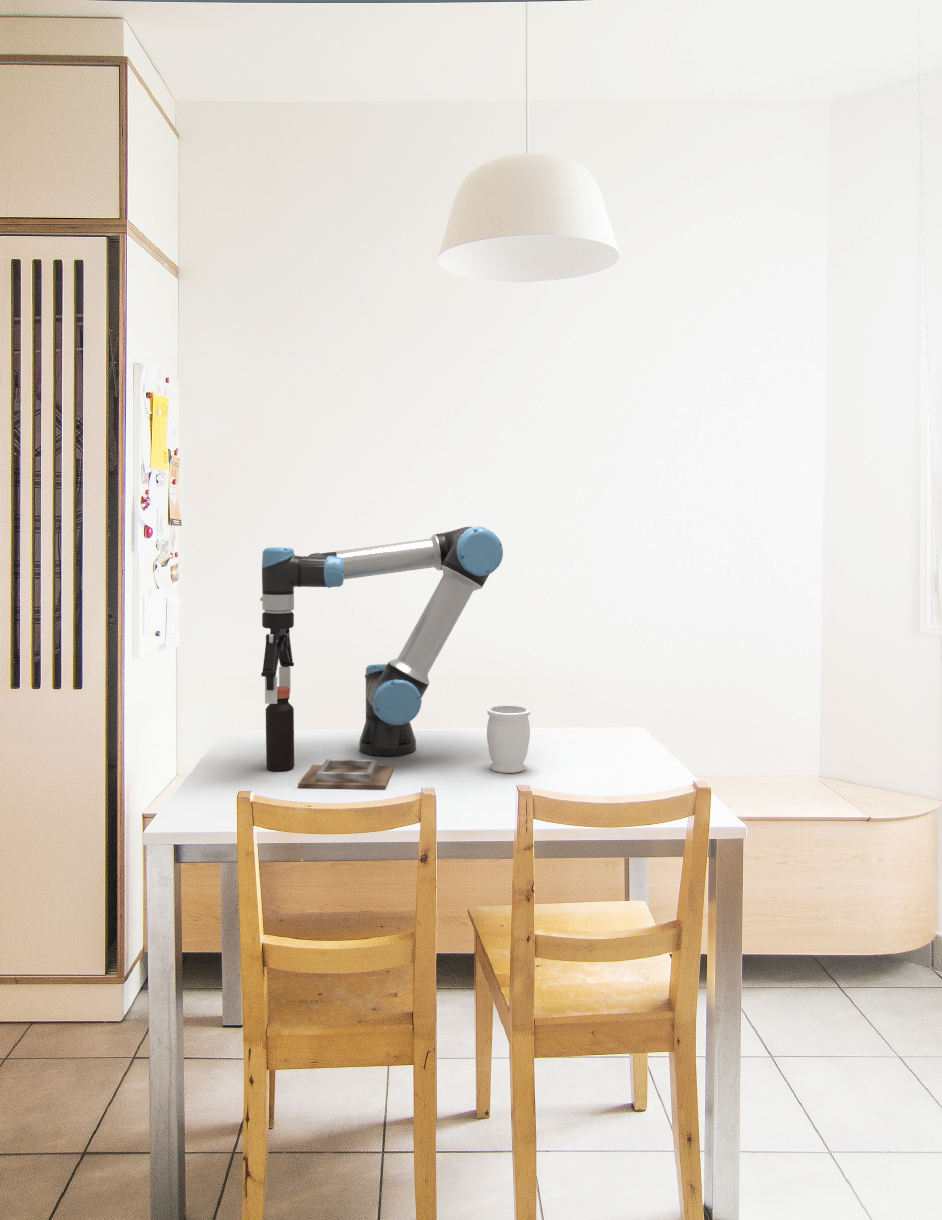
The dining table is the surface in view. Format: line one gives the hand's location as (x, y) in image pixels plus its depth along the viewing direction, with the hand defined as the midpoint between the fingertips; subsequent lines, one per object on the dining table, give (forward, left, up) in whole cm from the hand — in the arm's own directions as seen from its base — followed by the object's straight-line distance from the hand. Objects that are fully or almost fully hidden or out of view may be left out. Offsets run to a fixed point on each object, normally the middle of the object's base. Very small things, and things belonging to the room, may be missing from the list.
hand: (278, 698), depth 225 cm
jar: (-56, -3, -18) cm, 59 cm away
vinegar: (0, 0, -18) cm, 18 cm away
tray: (-18, +8, -18) cm, 27 cm away
